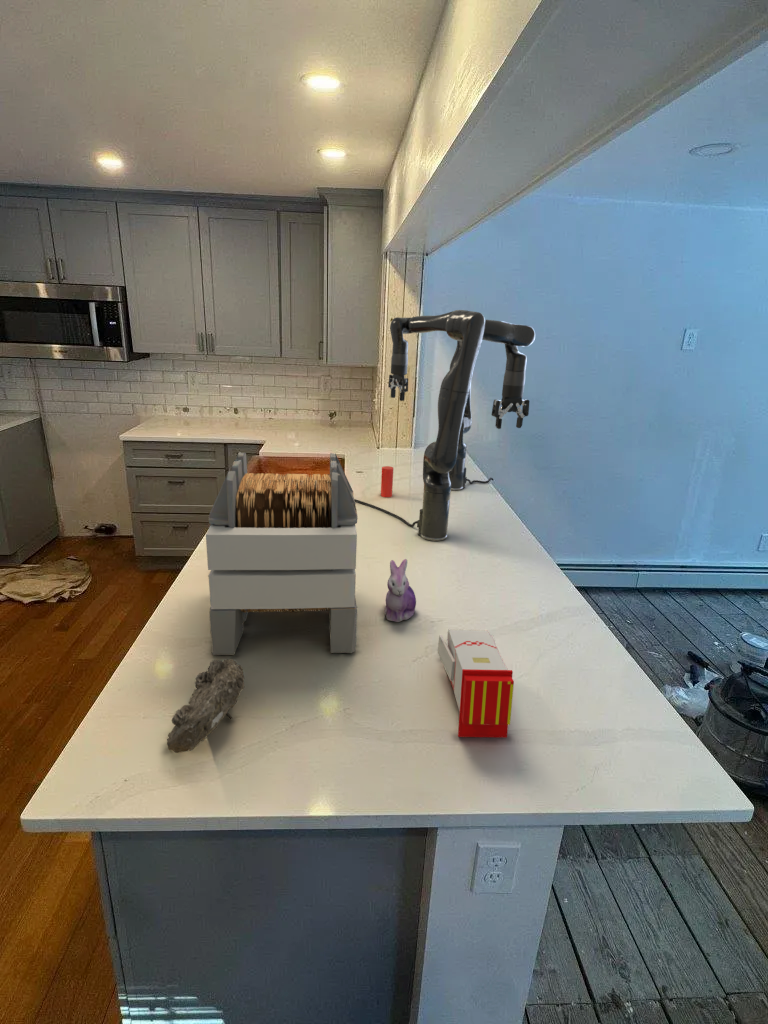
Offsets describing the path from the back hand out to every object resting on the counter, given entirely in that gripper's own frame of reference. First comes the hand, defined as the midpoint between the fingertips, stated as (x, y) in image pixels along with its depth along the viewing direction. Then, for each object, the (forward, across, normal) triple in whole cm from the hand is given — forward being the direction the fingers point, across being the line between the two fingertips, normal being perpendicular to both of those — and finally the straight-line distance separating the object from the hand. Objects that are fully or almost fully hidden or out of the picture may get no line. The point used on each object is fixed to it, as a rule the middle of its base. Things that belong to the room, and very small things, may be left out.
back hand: (397, 399), depth 265 cm
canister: (+35, +33, -21) cm, 52 cm away
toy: (+34, +155, -68) cm, 172 cm away
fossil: (+34, +140, -117) cm, 186 cm away
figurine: (+34, +121, -65) cm, 142 cm away
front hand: (-1, +71, +7) cm, 72 cm away
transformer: (+34, +111, -92) cm, 148 cm away
